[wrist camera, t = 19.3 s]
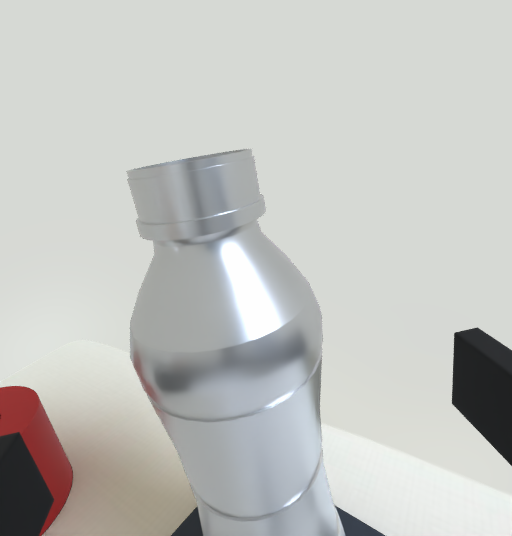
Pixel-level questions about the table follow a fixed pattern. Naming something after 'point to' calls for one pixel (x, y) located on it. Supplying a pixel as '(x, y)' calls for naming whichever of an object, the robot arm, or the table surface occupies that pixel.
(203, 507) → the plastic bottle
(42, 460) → the lever
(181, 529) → the mat
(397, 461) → the table surface
